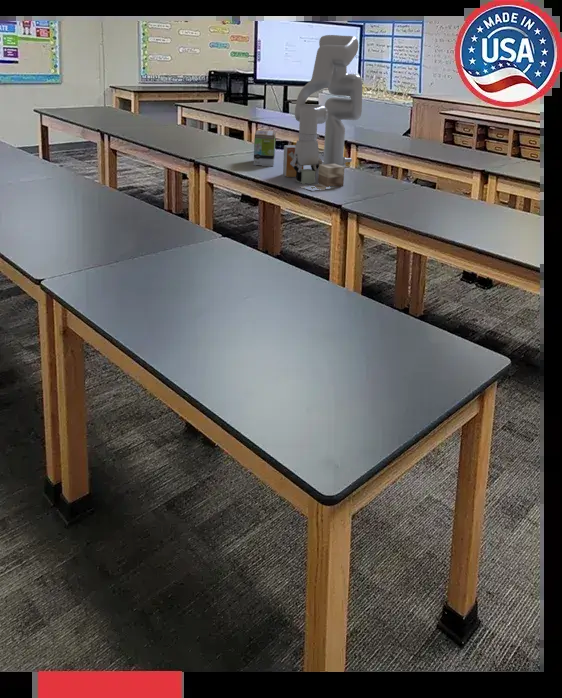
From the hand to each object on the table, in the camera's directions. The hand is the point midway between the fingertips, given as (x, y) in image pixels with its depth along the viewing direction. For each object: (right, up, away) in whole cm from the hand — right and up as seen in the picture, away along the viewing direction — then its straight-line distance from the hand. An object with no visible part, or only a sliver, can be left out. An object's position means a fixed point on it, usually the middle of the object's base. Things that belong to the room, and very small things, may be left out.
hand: (305, 180), depth 295 cm
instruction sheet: (+4, -6, -10) cm, 12 cm away
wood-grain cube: (+11, -3, -3) cm, 11 cm away
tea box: (-19, +17, +37) cm, 45 cm away
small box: (-5, +5, +12) cm, 14 cm away
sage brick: (0, -1, 0) cm, 1 cm away
